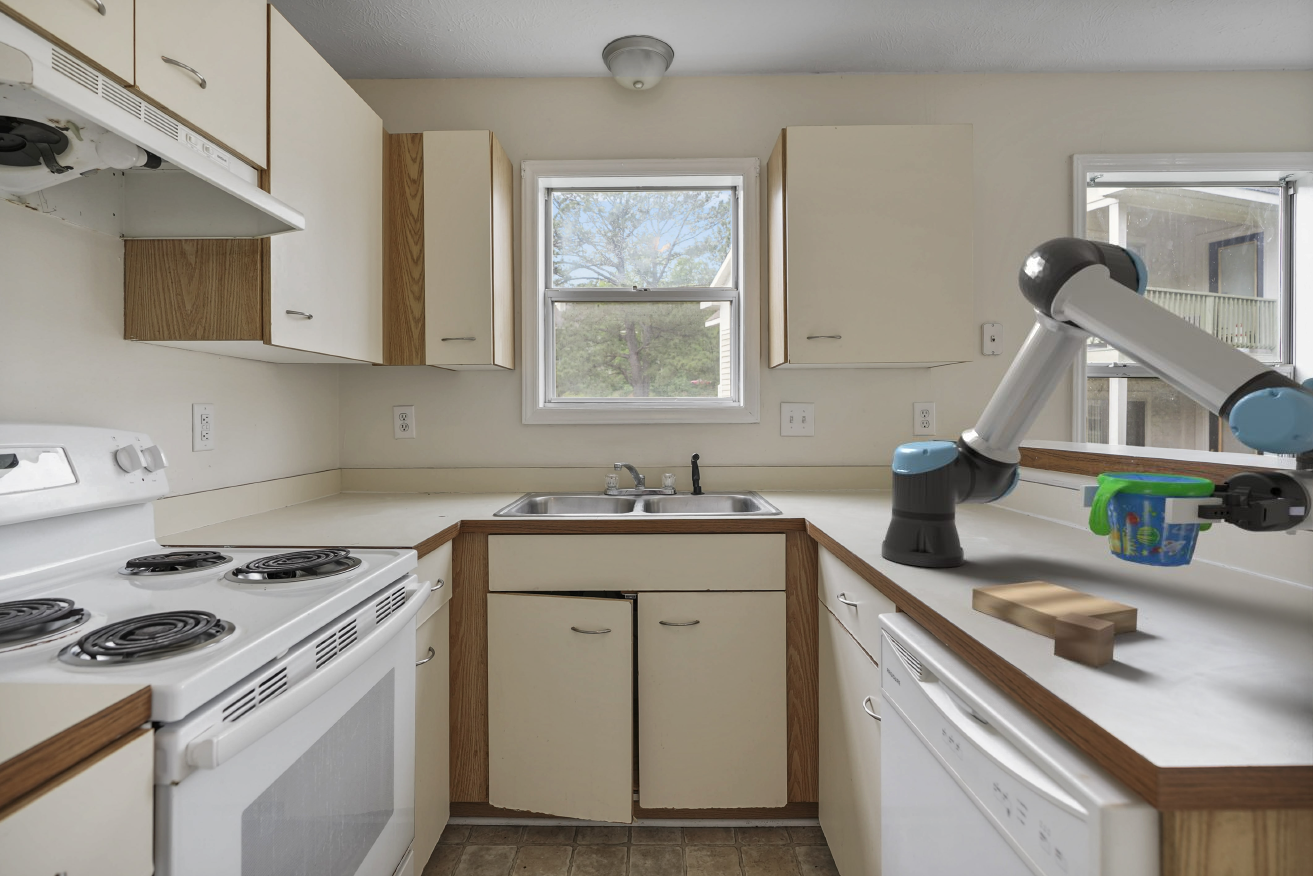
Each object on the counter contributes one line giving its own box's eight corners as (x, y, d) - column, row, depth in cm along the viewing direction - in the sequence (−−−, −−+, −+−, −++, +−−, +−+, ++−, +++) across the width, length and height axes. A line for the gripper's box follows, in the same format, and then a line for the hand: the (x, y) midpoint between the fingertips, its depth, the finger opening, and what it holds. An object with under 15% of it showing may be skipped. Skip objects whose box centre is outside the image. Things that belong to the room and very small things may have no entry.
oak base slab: (972, 608, 90) (972, 588, 90) (1039, 599, 95) (1040, 580, 94) (1062, 642, 77) (1063, 619, 77) (1136, 630, 81) (1137, 608, 81)
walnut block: (1054, 655, 73) (1055, 618, 73) (1070, 647, 75) (1071, 612, 75) (1097, 668, 69) (1098, 630, 69) (1112, 659, 72) (1114, 622, 72)
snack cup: (1127, 573, 66) (1132, 482, 66) (1055, 551, 77) (1058, 472, 76) (1255, 571, 68) (1260, 481, 67) (1167, 549, 78) (1171, 472, 78)
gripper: (1398, 552, 64) (1225, 558, 60) (1179, 514, 86) (1043, 517, 83) (1404, 482, 63) (1230, 483, 60) (1181, 462, 86) (1045, 462, 82)
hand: (1121, 503), depth 71 cm, fingers closed on snack cup, 10 cm apart
